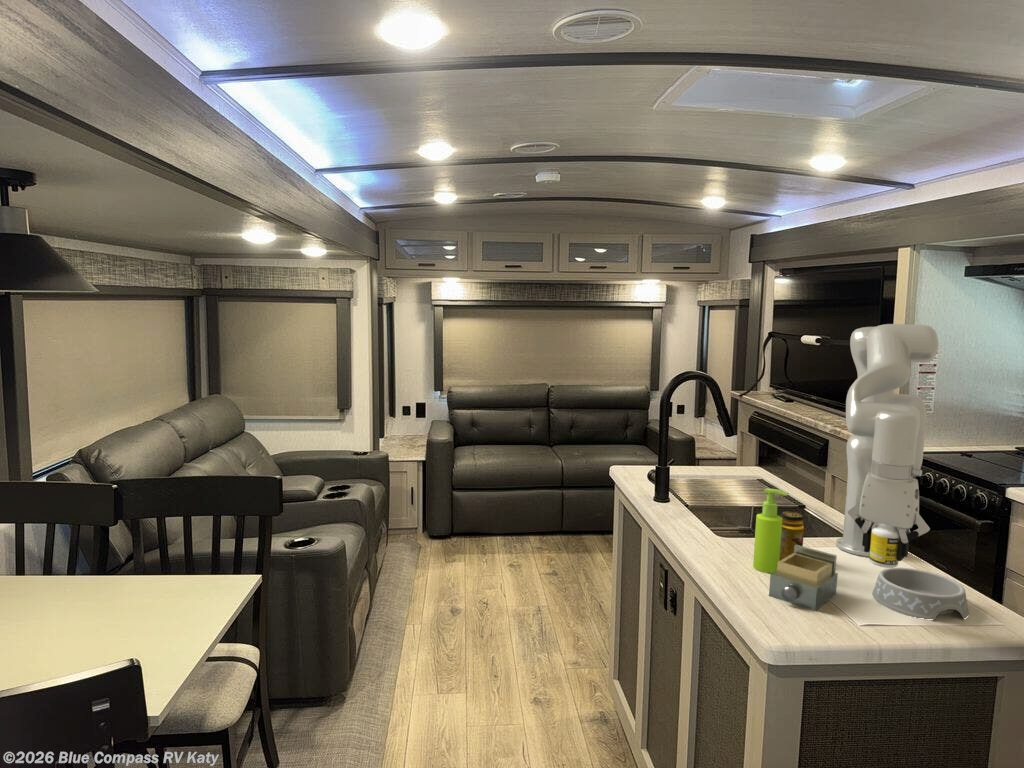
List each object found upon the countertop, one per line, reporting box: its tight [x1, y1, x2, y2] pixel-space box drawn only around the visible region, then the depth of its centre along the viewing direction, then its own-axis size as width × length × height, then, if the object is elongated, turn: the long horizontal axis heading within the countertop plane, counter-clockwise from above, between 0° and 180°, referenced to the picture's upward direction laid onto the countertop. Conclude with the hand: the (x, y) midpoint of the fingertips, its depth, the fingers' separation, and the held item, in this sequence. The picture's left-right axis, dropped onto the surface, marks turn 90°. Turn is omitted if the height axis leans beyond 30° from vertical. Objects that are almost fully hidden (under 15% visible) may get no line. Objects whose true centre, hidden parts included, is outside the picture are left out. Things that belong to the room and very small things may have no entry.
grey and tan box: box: [768, 545, 838, 612], centre depth 144 cm, size 14×10×9 cm
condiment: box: [779, 511, 805, 561], centre depth 167 cm, size 7×8×12 cm
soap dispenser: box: [752, 487, 790, 574], centre depth 159 cm, size 6×7×20 cm
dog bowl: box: [871, 567, 970, 621], centre depth 143 cm, size 17×18×5 cm
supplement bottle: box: [868, 523, 901, 569], centre depth 135 cm, size 5×5×10 cm
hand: (884, 553), depth 135 cm, fingers closed on supplement bottle, 5 cm apart
